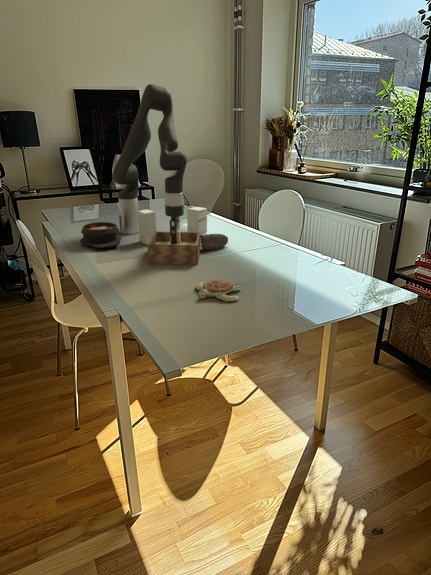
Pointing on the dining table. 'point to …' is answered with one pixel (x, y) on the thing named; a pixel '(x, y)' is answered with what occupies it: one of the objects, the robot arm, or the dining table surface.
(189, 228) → the supplement box
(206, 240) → the perforated stone tool
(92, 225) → the casserole
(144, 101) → the robot arm
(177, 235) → the terracotta peg
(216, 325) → the dining table surface
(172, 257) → the walnut box
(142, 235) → the skincare box
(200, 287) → the decorative turtle
